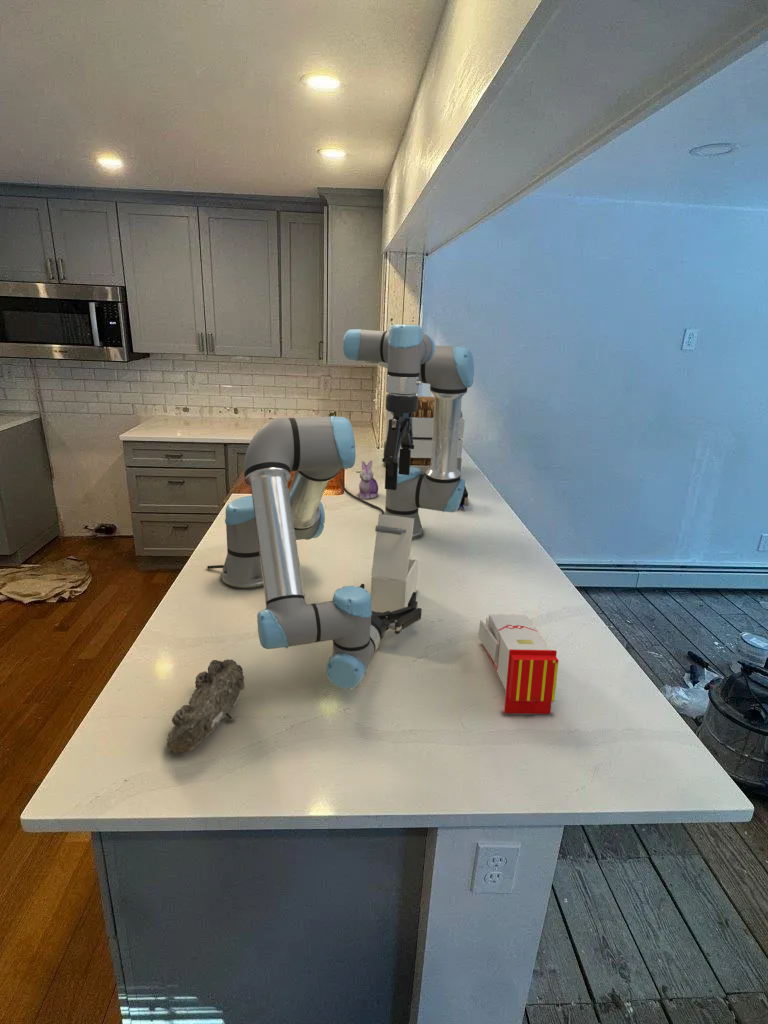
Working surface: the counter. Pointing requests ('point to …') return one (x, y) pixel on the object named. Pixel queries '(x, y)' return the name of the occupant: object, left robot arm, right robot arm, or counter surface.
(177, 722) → the fossil
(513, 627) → the toy
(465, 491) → the figurine character
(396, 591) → the chest
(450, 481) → the right robot arm
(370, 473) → the figurine
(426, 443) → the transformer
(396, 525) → the lid
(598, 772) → the counter surface
